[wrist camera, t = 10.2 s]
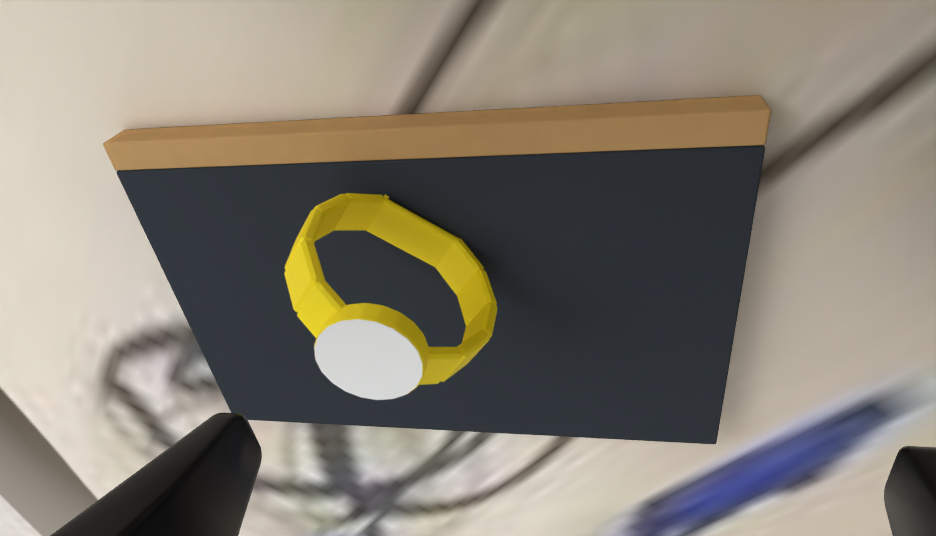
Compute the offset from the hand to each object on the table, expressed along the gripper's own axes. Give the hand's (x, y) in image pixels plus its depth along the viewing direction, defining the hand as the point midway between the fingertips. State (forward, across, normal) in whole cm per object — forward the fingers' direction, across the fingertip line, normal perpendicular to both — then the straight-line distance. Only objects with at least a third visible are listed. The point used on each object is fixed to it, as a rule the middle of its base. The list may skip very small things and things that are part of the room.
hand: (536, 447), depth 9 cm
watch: (+11, +5, +3) cm, 12 cm away
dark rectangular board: (+12, +5, +6) cm, 14 cm away
